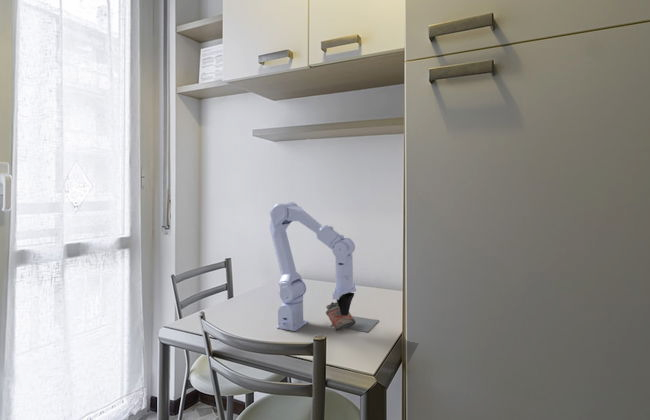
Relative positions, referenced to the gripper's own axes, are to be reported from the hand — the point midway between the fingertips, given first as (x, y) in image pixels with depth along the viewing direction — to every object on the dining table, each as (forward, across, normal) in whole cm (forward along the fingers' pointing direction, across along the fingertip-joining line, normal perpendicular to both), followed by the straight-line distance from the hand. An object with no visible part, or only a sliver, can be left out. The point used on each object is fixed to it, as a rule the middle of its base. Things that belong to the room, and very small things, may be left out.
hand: (344, 314), depth 124 cm
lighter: (+5, +2, +1) cm, 6 cm away
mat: (+6, +10, 0) cm, 12 cm away
